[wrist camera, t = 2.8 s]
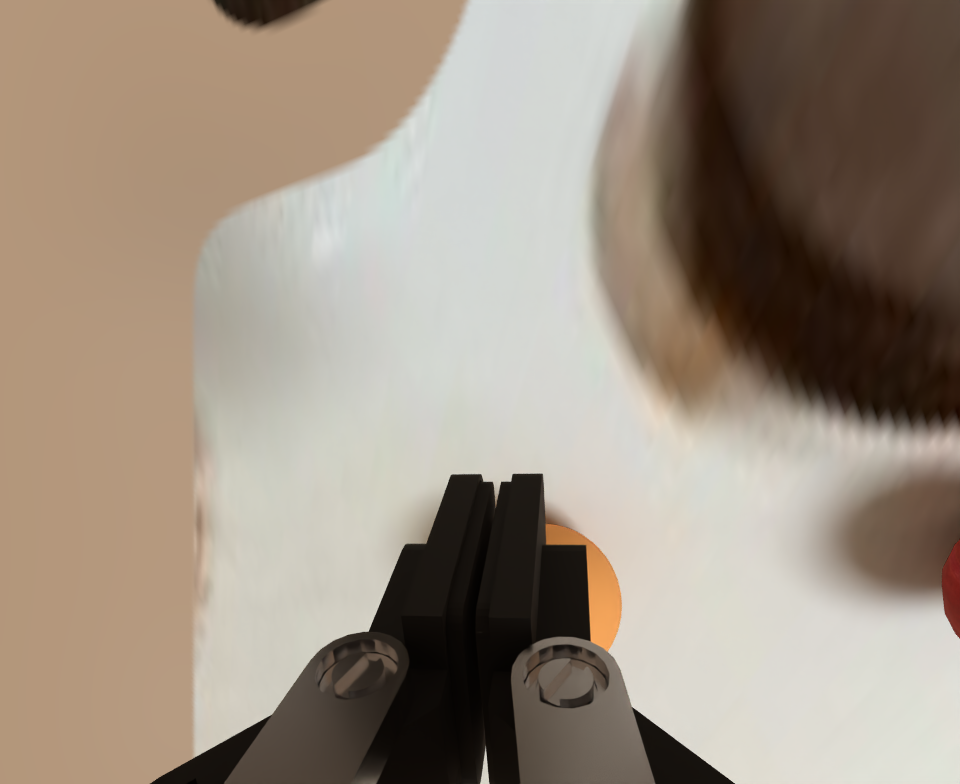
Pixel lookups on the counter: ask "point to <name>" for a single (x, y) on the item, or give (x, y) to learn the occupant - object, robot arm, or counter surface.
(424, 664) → the robot arm
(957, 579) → the onion
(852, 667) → the counter surface
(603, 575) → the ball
